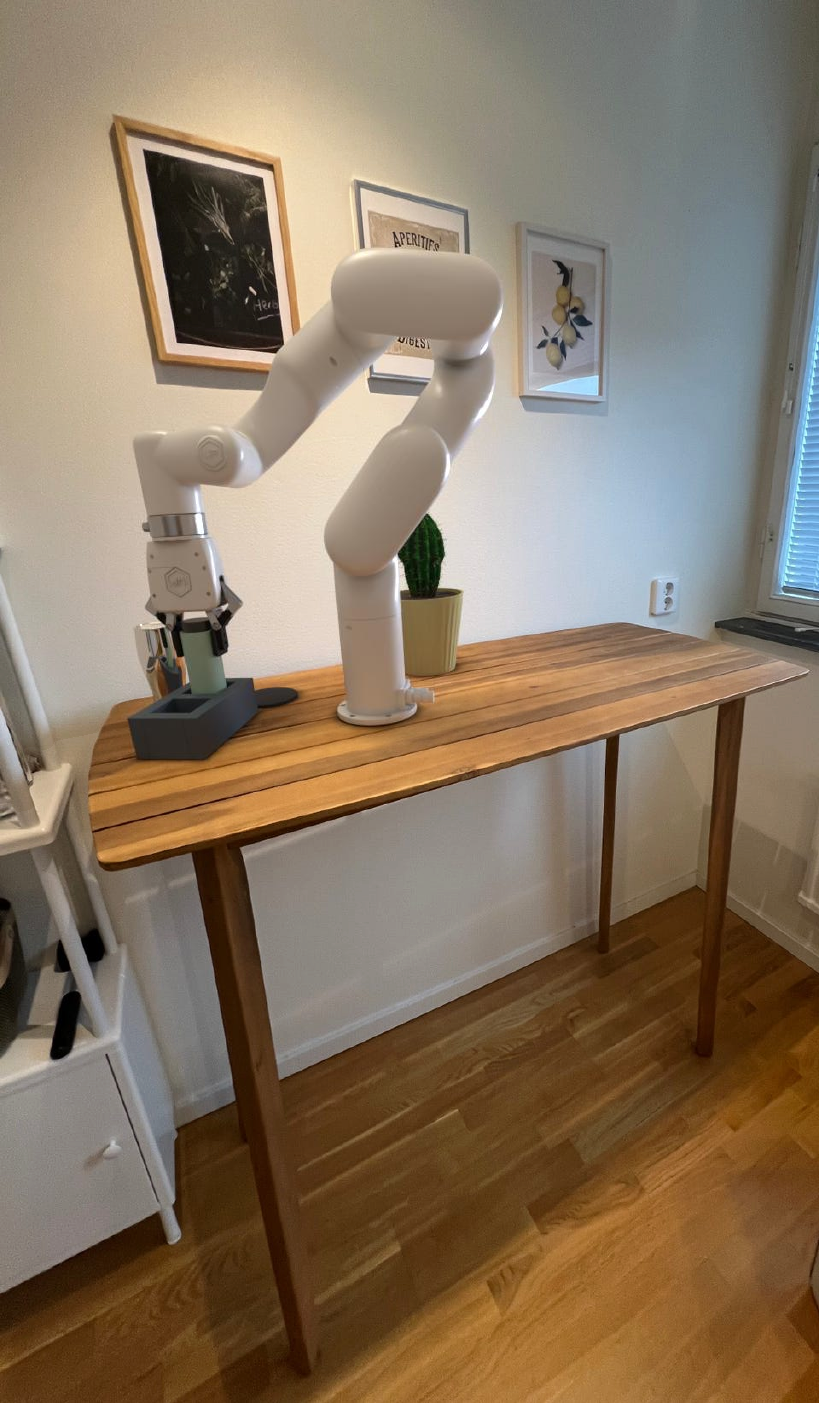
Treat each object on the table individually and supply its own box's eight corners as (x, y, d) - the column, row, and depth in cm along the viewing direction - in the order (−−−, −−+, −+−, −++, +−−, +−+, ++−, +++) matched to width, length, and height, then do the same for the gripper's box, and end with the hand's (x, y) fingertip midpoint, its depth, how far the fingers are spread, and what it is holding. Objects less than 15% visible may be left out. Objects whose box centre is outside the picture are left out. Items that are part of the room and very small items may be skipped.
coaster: (305, 689, 101) (305, 686, 101) (286, 708, 91) (285, 705, 91) (254, 689, 102) (253, 687, 102) (229, 708, 93) (229, 705, 93)
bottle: (238, 717, 88) (220, 615, 83) (223, 730, 83) (204, 622, 78) (208, 717, 89) (189, 617, 84) (192, 730, 84) (170, 623, 79)
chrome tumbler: (180, 720, 89) (161, 629, 84) (142, 719, 90) (121, 629, 85) (204, 705, 95) (187, 620, 90) (168, 705, 96) (150, 620, 91)
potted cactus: (459, 655, 117) (455, 506, 107) (471, 675, 103) (468, 505, 93) (387, 660, 116) (376, 511, 107) (389, 681, 102) (377, 511, 92)
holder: (258, 712, 90) (253, 677, 88) (204, 759, 73) (196, 718, 71) (202, 712, 92) (195, 678, 90) (136, 759, 75) (126, 718, 73)
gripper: (106, 533, 74) (136, 662, 80) (224, 526, 72) (245, 660, 78) (139, 531, 81) (164, 649, 87) (248, 524, 79) (266, 647, 85)
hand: (202, 653), depth 83 cm, fingers closed on bottle, 5 cm apart
